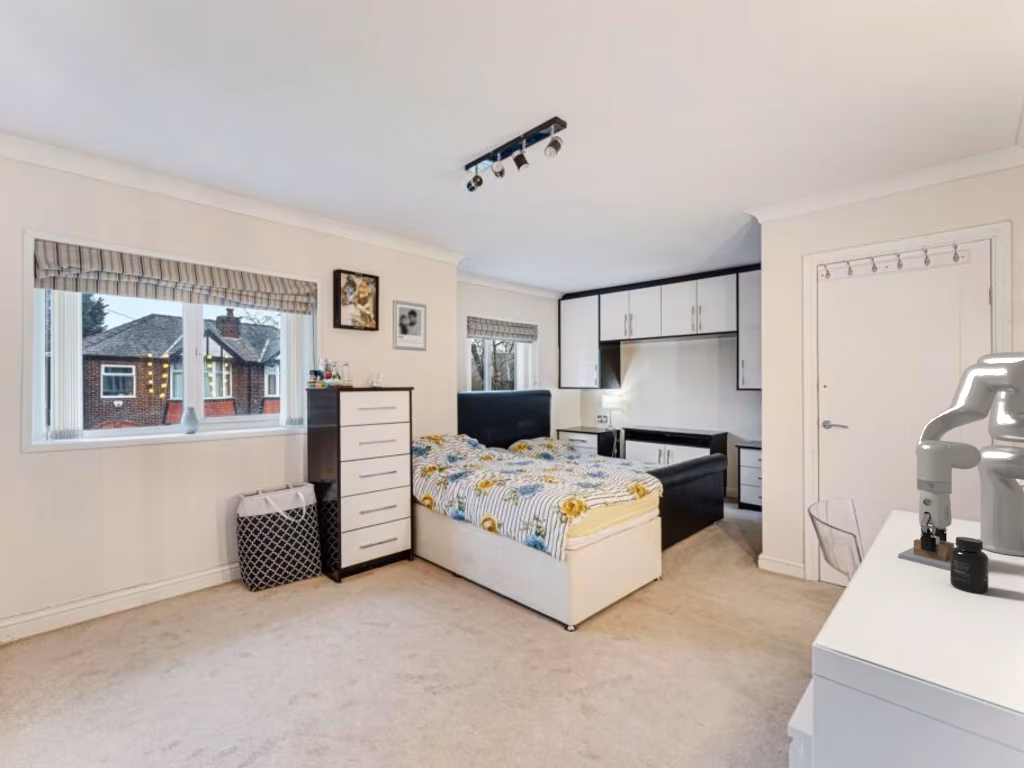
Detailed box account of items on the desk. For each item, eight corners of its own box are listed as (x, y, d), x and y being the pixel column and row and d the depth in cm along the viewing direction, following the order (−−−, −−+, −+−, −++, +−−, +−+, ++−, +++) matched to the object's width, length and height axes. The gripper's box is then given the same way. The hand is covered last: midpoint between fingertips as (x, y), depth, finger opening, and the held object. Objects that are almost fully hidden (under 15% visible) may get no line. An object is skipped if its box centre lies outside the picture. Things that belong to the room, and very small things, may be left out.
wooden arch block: (944, 561, 134) (945, 547, 134) (913, 554, 140) (913, 540, 140) (953, 557, 137) (953, 543, 137) (923, 550, 143) (923, 536, 143)
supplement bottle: (996, 595, 115) (996, 544, 115) (962, 592, 116) (962, 542, 116) (974, 583, 121) (975, 536, 121) (943, 581, 123) (943, 534, 123)
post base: (917, 549, 147) (917, 527, 147) (969, 561, 137) (969, 538, 137) (898, 557, 140) (898, 535, 140) (952, 571, 130) (952, 546, 130)
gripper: (939, 492, 131) (939, 557, 131) (961, 485, 140) (961, 546, 140) (905, 487, 137) (905, 549, 137) (928, 481, 146) (928, 539, 146)
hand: (933, 547), depth 138 cm, fingers open, 7 cm apart
